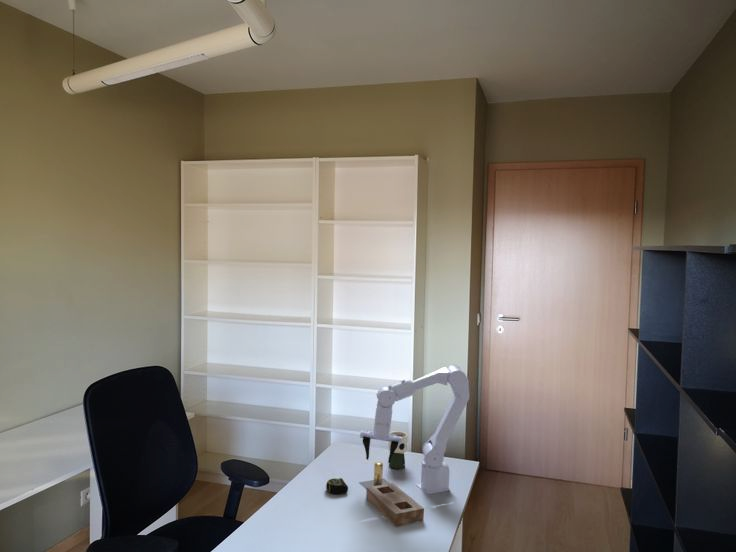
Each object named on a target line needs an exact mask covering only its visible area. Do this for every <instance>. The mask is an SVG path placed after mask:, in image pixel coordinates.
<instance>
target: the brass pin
mask: <svg viewBox="0 0 736 552" xmlns="http://www.w3.org/2000/svg"><path fill="white" fill-rule="evenodd" d="M373 466H374V469H373V480H374V486H378V485H382V478H383V473H384V472H383V471H384V463H383V462H380V461H375V462H374V465H373Z"/></svg>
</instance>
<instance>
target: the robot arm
mask: <svg viewBox="0 0 736 552" xmlns="http://www.w3.org/2000/svg"><path fill="white" fill-rule="evenodd" d="M469 382H470V381H469V379H468V377H467V375H466V373H465V372H464V371H462V369H461V368H460V366H458V365H456V364H450V365H448V366H447V367H446V366H444V367H441V368H439V369H438V370H435V371H433V372H430V373H428V374H426V375H423V376H422V377H419V378H417V379H414V380H411V379H405V378H402V379H400V382H398V383H395V384H388V386H384V387H381V388H379V389H378V391H377V393H376V398H377V403H376V408H375V416H374V424H373V425H374V426H373V430H372V431H369V430H368V431H365V430H361V431H360V433H359V439H362V444H363V448H364V449H365V456H366V457H365V458H366V460H367V461H369V457H370V445H371V440H377V441H382V442H383V441H385V442H389V441H390V442H391V447H390V451H389V454H388V455H389V456H388V463H387V464H389V463H390V461H391V458H392V455H393V453H394V452H395V450H396V448H397V447H398V443H399V444H401V442H402V437H401V436H396V435H392V434H390V432H391V428H392V427H391V426H392V425H391V424H392V419H393V418H392V417H393V405H394V404H395V402H398V401H401V400H404V399H406V398H409V397H412V396H414V395H415V394H416V391H418V390H421V389H424V388H427V387H430V386H433V385H435V384H440V385H443V386H448V384H449V386H450V388H451V391H452V394H453V397H452V398H451V400H450V402H449V404H448V406H447V408H446V410H445V412H444V414H443V415H442V418H441V420H440V422H439V423H438V425H437V428H436V429H435V431H434V434H432V435H431V436H430V437H429V439H428V440H427V441H426V442H424V444H423V445H422V447H421V448H422V449H421V451H422V452H421V453H422V454H423V456H424V457H423V459H422V461H421V473H420V475H421V478H420V483H416V484H415V486H416V487H417V488H419V489H420V490H421V491H423V492H424V493H425V494H426V495H430V494H436V493H441V492H449V491H450V490H451V488H450V468H449V465H448V464H447V462H445V461H444V456H445V454H446V452H447V451H446V450H447V443H448V441H449V439H450V437H451V435H452V433H453V431H454V429H455V427H456V426H457V424H458V421H459V420H460V418H461V415H462V414H463V411H464V410H465V408H466V405H467V403H468V402H469V399H470V396H471V395H470V386H469V384H470V383H469Z"/></svg>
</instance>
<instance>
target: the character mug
mask: <svg viewBox="0 0 736 552" xmlns="http://www.w3.org/2000/svg"><path fill="white" fill-rule="evenodd" d="M390 434H392V435H396V436H401V437H402V442H401V444H399V443H398V447H397V448H396V450H395V452H394V453H393V455H392V458H391V461H390V463H388V466H389V467H390V468H392V469H394V470H402V469H404V468H406V461H405V460H406V458H405V453H406V452H407V450H408V444H407V443H408V433H406V432H404V431H399V430H396V431H394V430H393V431H390ZM390 447H391V442H390V441H388V451H389V452H390Z"/></svg>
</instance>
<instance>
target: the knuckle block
mask: <svg viewBox="0 0 736 552" xmlns="http://www.w3.org/2000/svg"><path fill="white" fill-rule="evenodd" d="M389 483H390V482H389ZM365 498H366V500H368V501H369V503H371V505H373V507H375V508H376V509H377V510H378V511H379V512H381V514H382V515H383V517H384V518H385V519H386V520H388V522H390V524H392V525H393V526H394V527H395V528H396V527H401V526H406V525H411V524H415V523H420V522H424V519H425V518H424V513H425V508H424V507H423V506H422V505H420V503H418V502H417V501H416V500H415V499H413V498H412V497H411V496H410V495H409V494H407V493H406V492H405V491H404V490H402V489H401V488H400V487H398V485H396V484H395V483H394V482H391V483H390V484H384V485H378V486H372V487H367V490H366V497H365Z"/></svg>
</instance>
